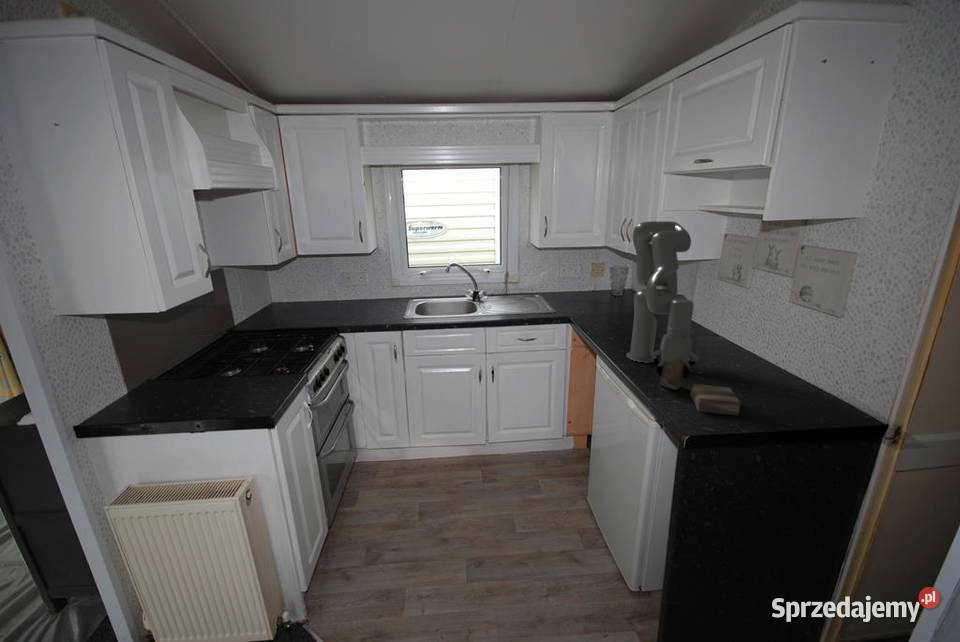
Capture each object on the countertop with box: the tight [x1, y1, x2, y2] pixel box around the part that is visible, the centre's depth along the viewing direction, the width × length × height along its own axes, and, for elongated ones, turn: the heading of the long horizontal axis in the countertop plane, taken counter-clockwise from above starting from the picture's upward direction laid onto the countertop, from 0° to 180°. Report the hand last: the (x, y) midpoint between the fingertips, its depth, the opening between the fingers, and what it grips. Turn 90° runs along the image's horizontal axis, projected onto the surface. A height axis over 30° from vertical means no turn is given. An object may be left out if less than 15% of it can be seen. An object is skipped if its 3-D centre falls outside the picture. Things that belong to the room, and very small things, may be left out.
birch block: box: [690, 383, 741, 416], centre depth 139 cm, size 12×12×5 cm
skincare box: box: [659, 359, 685, 391], centre depth 153 cm, size 6×4×12 cm
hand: (671, 375), depth 153 cm, fingers open, 8 cm apart
